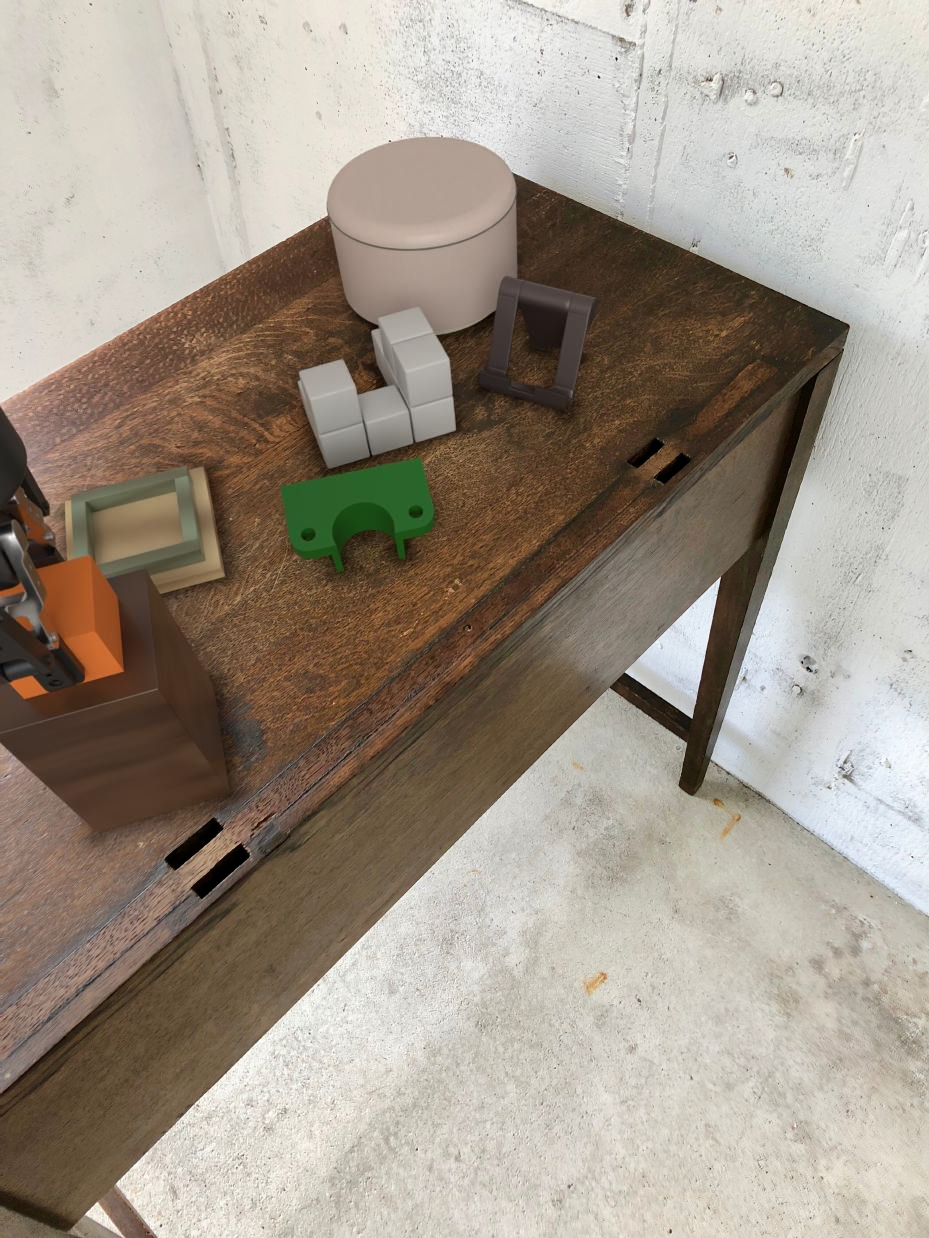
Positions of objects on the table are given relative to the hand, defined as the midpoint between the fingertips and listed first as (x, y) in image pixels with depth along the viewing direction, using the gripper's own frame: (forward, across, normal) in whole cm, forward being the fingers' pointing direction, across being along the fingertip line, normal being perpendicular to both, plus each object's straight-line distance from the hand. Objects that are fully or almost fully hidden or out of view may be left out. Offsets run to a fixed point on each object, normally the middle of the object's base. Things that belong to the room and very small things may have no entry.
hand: (65, 637), depth 49 cm
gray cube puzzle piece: (+15, -30, +23) cm, 40 cm away
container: (+15, -45, +32) cm, 58 cm away
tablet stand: (+15, -28, +38) cm, 50 cm away
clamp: (+15, -14, +18) cm, 28 cm away
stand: (+15, 0, 0) cm, 15 cm away
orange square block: (+1, 0, 0) cm, 1 cm away
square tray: (+15, -20, +1) cm, 25 cm away
